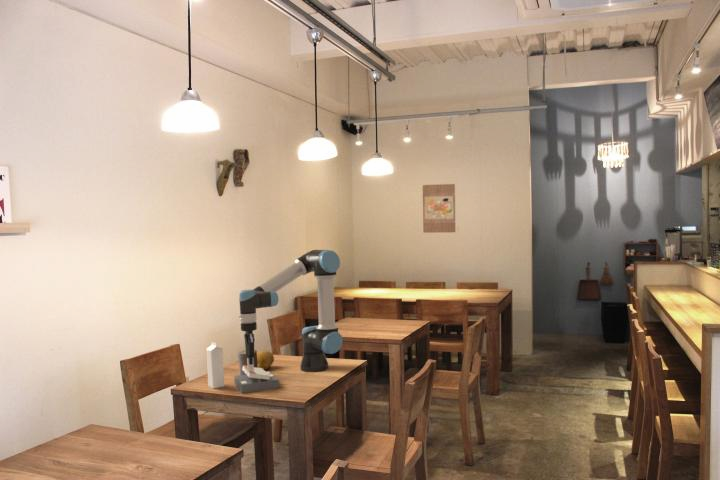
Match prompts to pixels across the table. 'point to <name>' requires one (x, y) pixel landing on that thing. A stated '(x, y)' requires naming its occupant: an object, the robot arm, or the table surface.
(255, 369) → the rocker
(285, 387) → the table surface
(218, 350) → the milk
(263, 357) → the potato
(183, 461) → the table surface
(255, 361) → the pillar candle
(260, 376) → the white flat box
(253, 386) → the grey tray
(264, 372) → the rocker
